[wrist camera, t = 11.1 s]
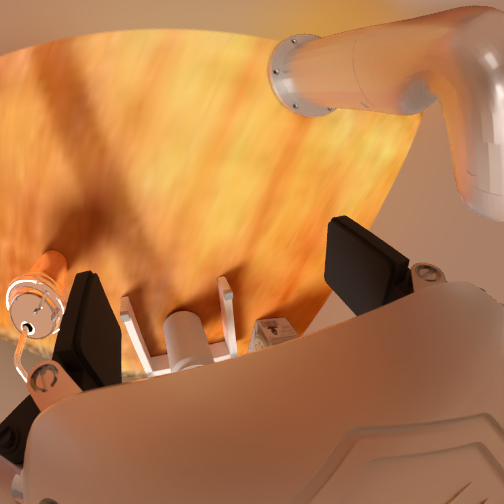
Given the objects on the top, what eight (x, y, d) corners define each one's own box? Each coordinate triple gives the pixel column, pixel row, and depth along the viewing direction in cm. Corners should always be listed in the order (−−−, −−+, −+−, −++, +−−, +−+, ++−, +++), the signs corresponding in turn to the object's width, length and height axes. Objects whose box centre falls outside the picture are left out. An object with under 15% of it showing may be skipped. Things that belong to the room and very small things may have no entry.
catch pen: (224, 276, 44) (232, 292, 41) (231, 343, 52) (239, 360, 48) (120, 297, 40) (120, 315, 36) (146, 362, 47) (148, 381, 43)
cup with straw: (81, 241, 34) (46, 347, 17) (79, 295, 37) (62, 407, 21) (28, 233, 30) (-33, 329, 14) (31, 288, 33) (-7, 392, 17)
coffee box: (275, 350, 57) (311, 410, 44) (246, 354, 55) (278, 419, 41) (286, 315, 53) (329, 377, 40) (254, 318, 51) (294, 386, 37)
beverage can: (196, 337, 48) (214, 391, 38) (160, 336, 45) (170, 392, 36) (203, 308, 46) (223, 363, 36) (164, 306, 43) (175, 363, 33)
